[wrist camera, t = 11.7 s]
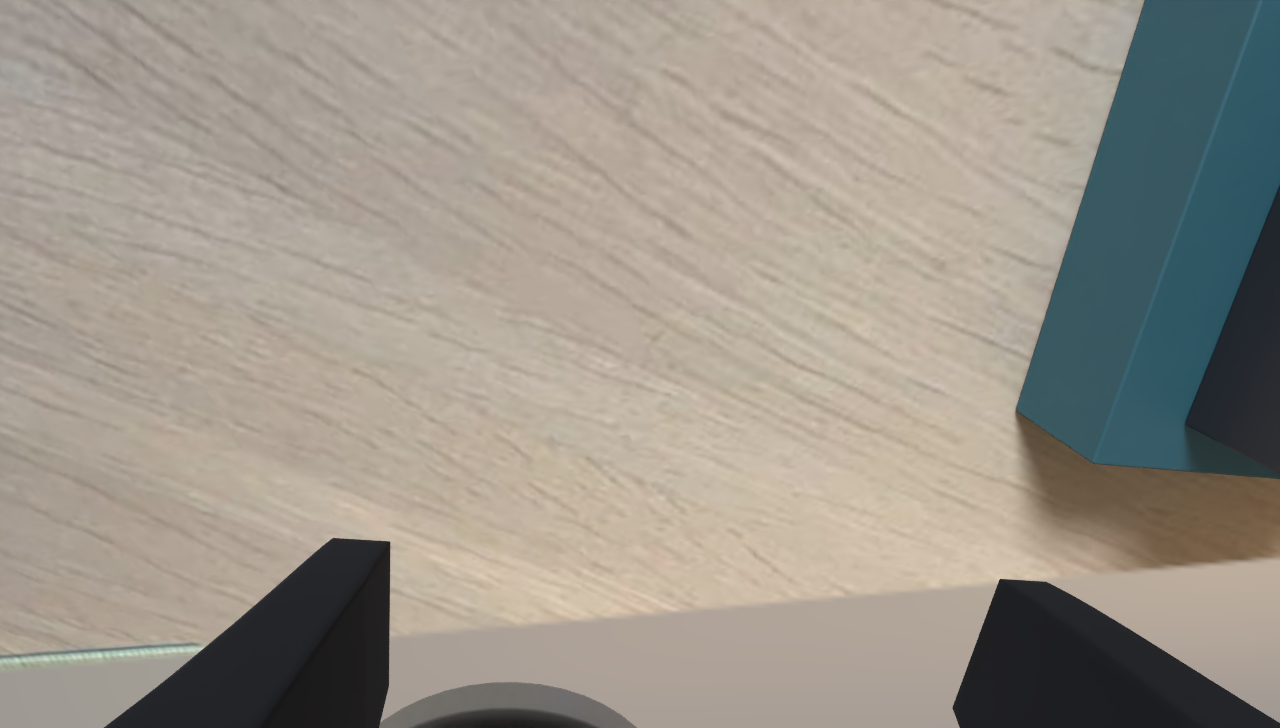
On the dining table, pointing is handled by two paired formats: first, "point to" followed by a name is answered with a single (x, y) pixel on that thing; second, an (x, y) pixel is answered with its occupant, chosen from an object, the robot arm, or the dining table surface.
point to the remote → (1248, 361)
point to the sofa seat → (1163, 239)
